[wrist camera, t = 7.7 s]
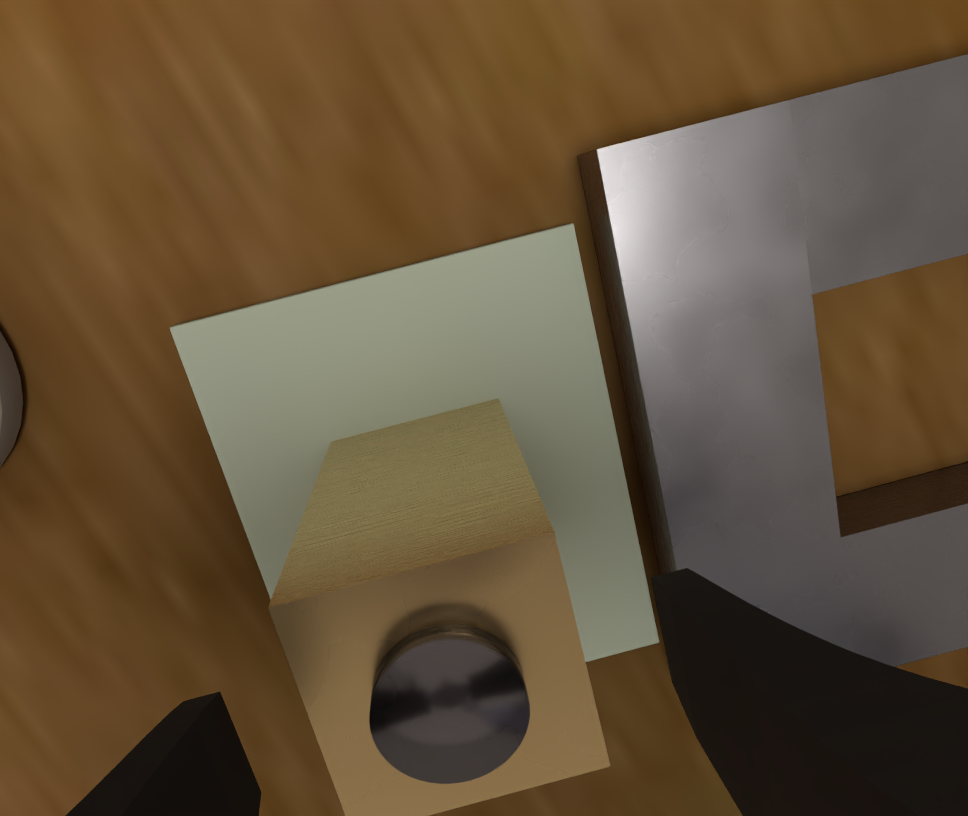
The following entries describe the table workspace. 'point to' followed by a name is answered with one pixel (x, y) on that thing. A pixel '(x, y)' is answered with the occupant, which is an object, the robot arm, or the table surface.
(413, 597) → the end cover
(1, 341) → the travel mug
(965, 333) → the table surface
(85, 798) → the robot arm
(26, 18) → the table surface
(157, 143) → the table surface
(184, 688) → the table surface
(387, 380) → the mat
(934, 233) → the square plate with hole
